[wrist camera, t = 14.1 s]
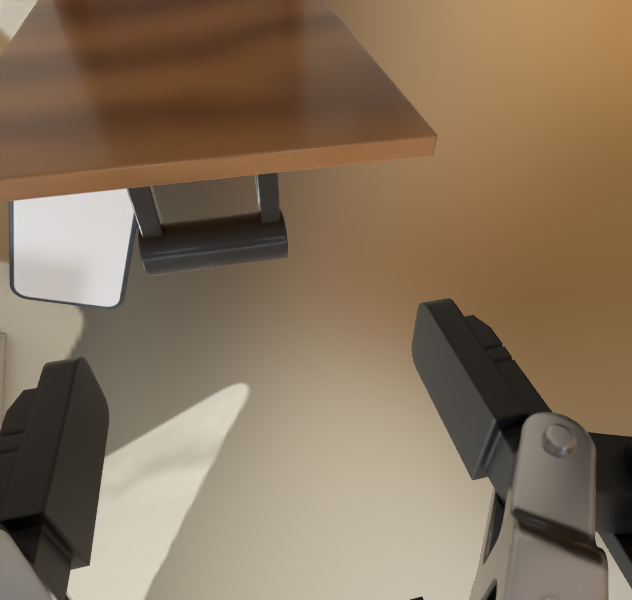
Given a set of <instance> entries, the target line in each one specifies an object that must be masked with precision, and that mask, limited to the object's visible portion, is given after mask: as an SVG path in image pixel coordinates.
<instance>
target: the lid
mask: <svg viewBox="0 0 632 600" xmlns="http://www.w3.org/2000/svg"><path fill="white" fill-rule="evenodd" d="M436 139H437V134H436V133H435V132H434V131H433V130H432V128H431V127H430V126H429V125H428V123H427V122H426V121H425V120H424V119H423V117H422V116H421V115H420V114H419V113H418V111H417V110H416V109H415V108H414V107H413V105H412V104H411V103H410V102H409V101H408V99H407V98H406V97H405V96H404V95H403V93H402V92H401V91H400V90H399V89H398V87H397V86H396V85H395V84H394V83H393V81H392V80H391V79H390V78H389V77H388V75H387V74H386V73H385V72H384V71H383V70H382V68H381V67H380V66H379V65H378V63H376V61H375V60H374V59H373V58H372V56H371V55H370V54H369V53H368V51H367V50H366V49H365V48H364V47H363V46H362V44H361V43H360V42H359V41H358V40H357V38H356V37H355V36H354V35H353V34H352V32H351V31H350V30H349V29H348V28H347V26H346V25H345V24H344V23H343V22H342V20H341V19H340V18H339V17H338V16H337V14H336V13H335V12H334V11H333V10H332V9H331V7H330V6H329V5H328V4H327V3H326V1H325V0H38V1H37V3H36V4H35V6H34V7H33V9H32V10H31V12H30V13H29V15H28V16H27V18H26V19H25V21H24V22H23V24H22V25H21V27H20V28H19V30H18V31H17V33H16V34H15V36H14V37H13V39H12V40H11V42H10V43H9V45H8V46H7V48H6V49H5V51H4V52H3V54H2V55H1V56H0V202H7V201H16V200H25V199H35V198H44V197H53V196H63V195H72V194H81V193H91V192H100V191H109V190H119V189H127V192H128V195H129V198H130V201H131V204H132V207H133V210H134V213H135V217H136V220H137V223H138V226H139V228H138V245H139V252H140V257H141V261H142V264H143V267H144V270H145V272H146V274H147V275H148V276H154V275H161V274H169V273H176V272H184V271H191V270H198V269H206V268H212V267H220V266H228V265H235V264H241V263H250V262H257V261H265V260H272V259H279V258H286V257H287V254H288V243H287V234H286V227H285V221H284V217H283V214H282V211H281V209H279V193H278V176H277V175H278V174H277V172H286V171H296V170H304V169H314V168H323V167H333V166H342V165H352V164H359V163H360V164H361V163H370V162H379V161H389V160H398V159H408V158H417V157H426V156H432V155H433V154H434V149H435V144H436ZM249 175H255V185H256V194H257V205H258V212H257V211H256V212H248V213H240V214H231V215H223V216H215V217H206V218H198V219H189V220H181V221H173V222H164V223H163V221H162V217H161V214H160V210H159V206H158V203H157V199H156V195H155V192H154V188H153V186H156V185H165V184H175V183H184V182H192V181H202V180H212V179H221V178H230V177H240V176H249Z"/></svg>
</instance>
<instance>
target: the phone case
mask: <svg viewBox="0 0 632 600" xmlns="http://www.w3.org/2000/svg"><path fill="white" fill-rule="evenodd" d="M136 228H138V223H137V220H136V217H135V213H134V210H133V207H132V204H131V201H130V198H129V195H128V192H127V189H119V190H109V191H100V192H91V193H81V194H72V195H63V196H53V197H44V198H35V199H25V200H16V201H9V256H10V257H9V258H10V288H11V290H12V291H13V292H14V293H15V294H16V295H17V296H19V297H21V298H24V299H29V300H37V301H45V302H53V303H61V304H69V305H77V306H85V307H93V308H101V309H114V308H117V307H119V306H120V305H121V304H122V303H123V301H124V296H125V291H126V284H127V280H128V274H129V268H130V262H131V256H132V251H133V244H134V239H135V233H136Z"/></svg>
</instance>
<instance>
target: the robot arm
mask: <svg viewBox="0 0 632 600" xmlns="http://www.w3.org/2000/svg"><path fill="white" fill-rule="evenodd" d="M412 356H413V361H414V364H415V367H416V369H417V371H418V373H419V375H420V377H421V379H422V381H423V383H424V385H425V387H426V389H427V391H428V393H429V395H430V397H431V399H432V401H433V403H434V405H435V407H436V409H437V411H438V413H439V415H440V417H441V419H442V421H443V423H444V425H445V427H446V429H447V431H448V433H449V435H450V437H451V439H452V441H453V443H454V445H455V447H456V449H457V451H458V453H459V454H460V457H461V459H462V461H463V463H464V464H465V467H466V468H467V471H468V473H469V475H470V477H471V479H472V480H476V479H480V478H485V477H489V479H490V481H491V483H492V485H493V486H494V490H493V492H492V497H491V502H490V508H489V513H488V519H487V523H486V529H485V535H484V539H483V545H482V550H481V555H480V561H479V566H478V570H477V574H476V578H475V581H474V584H473V587H472V591H471V594H470V598H469V600H608V562H607V557H606V554H605V552H604V550H603V549H601V548H599V547H597V545H596V542H595V531H597V532H598V533H599V535H600V536H601V538H602V540H603V541H604V543H605V545H606V547H607V548H608V550H609V552H610V553H611V555H612V557H613V558H614V560H615V562H616V563H617V565H618V567H619V568H620V570H621V572H622V573H623V575H624V577H625V578H626V580H627V582H628V583H629V585H630V587H631V588H632V437H628V436H618V435H607V434H598V433H591V432H587V431H586V430H585V429H584V428H583V427H582V426H581V425H579V424H578V423H577V422H575V421H574V420H572V419H570V418H568V417H566V416H564V415H561V414H557V413H553V412H552V411H551V410H550V408H549V407H548V406H547V405H546V403H545V402H544V400H543V399H542V398H541V396H540V395H539V394H538V392H537V391H536V389H535V388H534V387H533V385H532V384H531V383H530V381H529V380H528V378H527V377H526V376H525V374H524V373H523V372H522V370H521V369H520V367H519V366H518V365H517V363H516V362H515V360H512V358H511V355H510V354H509V352H508V351H507V350H506V348H505V347H503V346H502V343H501V341H500V340H499V338H498V337H497V336H496V334H495V333H494V332H493V330H492V329H491V328H490V327H489V326H488V325H486V324H485V323H483V322H482V321H481V320H479V319H478V318H476V317H475V316H474V315H471V316H465V317H464V316H463V315H462V313H461V311H460V310H459V308H458V307H457V305H456V304H455V303H454V301H453V300H451V299H442V300H437V301H430V302H424V303H420V304H419V307H418V310H417V316H416V322H415V328H414V334H413V340H412ZM108 425H109V411H108V405H107V402H106V398H105V396H104V394H103V392H102V390H101V388H100V386H99V384H98V382H97V380H96V378H95V376H94V374H93V372H92V370H91V368H90V366H89V364H88V362H87V360H86V359H85V358H83V357H79V358H73V359H67V360H61V361H55V362H49V363H46V364H45V365H44V367H43V370H42V373H41V376H40V380H39V383H38V387H37V388H35V389H29V390H24V391H23V392H22V393H21V394H20V396H19V397H18V398H17V399H16V401H15V402H14V403H13V404H12V406H11V407H10V408H9V409H8V411H7V412H6V415H5V418H4V421H3V424H2V427H1V430H0V600H73V599H72V598H71V596H70V595H69V593H68V592H67V586H68V580H69V574H70V570H72V569H76V568H80V567H85V566H89V565H90V558H91V550H92V543H93V536H94V529H95V521H96V514H97V507H98V499H99V492H100V485H101V478H102V470H103V463H104V456H105V448H106V441H107V434H108V427H109V426H108ZM411 600H423V597H419V598H415V599H411Z"/></svg>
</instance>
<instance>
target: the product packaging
mask: <svg viewBox="0 0 632 600" xmlns="http://www.w3.org/2000/svg"><path fill="white" fill-rule="evenodd" d="M5 339H6V334H2V333H0V430H1V427H2V410H3V386H4V363H5Z"/></svg>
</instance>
